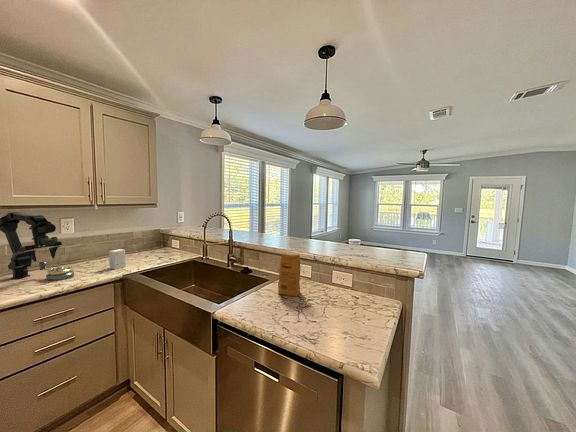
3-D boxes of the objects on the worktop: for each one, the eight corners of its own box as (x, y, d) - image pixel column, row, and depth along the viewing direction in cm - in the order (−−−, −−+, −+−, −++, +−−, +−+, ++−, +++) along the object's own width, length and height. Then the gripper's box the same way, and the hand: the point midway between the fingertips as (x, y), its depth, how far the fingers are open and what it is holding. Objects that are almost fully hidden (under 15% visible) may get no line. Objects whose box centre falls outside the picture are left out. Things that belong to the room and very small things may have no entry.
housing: (36, 281, 148) (36, 276, 148) (63, 272, 166) (63, 268, 166) (61, 281, 148) (60, 276, 148) (85, 272, 166) (85, 268, 166)
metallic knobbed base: (76, 270, 160) (75, 260, 159) (60, 275, 149) (60, 264, 148) (49, 270, 160) (49, 259, 160) (31, 275, 149) (31, 264, 149)
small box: (120, 265, 184) (119, 248, 183) (126, 266, 182) (125, 249, 181) (109, 268, 177) (108, 250, 176) (115, 269, 174) (114, 251, 174)
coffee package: (281, 288, 141) (282, 251, 140) (302, 291, 137) (302, 253, 136) (275, 294, 132) (275, 255, 130) (297, 297, 128) (297, 257, 126)
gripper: (29, 235, 138) (35, 261, 138) (66, 231, 156) (71, 254, 157) (16, 238, 141) (21, 264, 141) (53, 234, 159) (58, 257, 159)
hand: (44, 259), depth 149 cm, fingers open, 9 cm apart
